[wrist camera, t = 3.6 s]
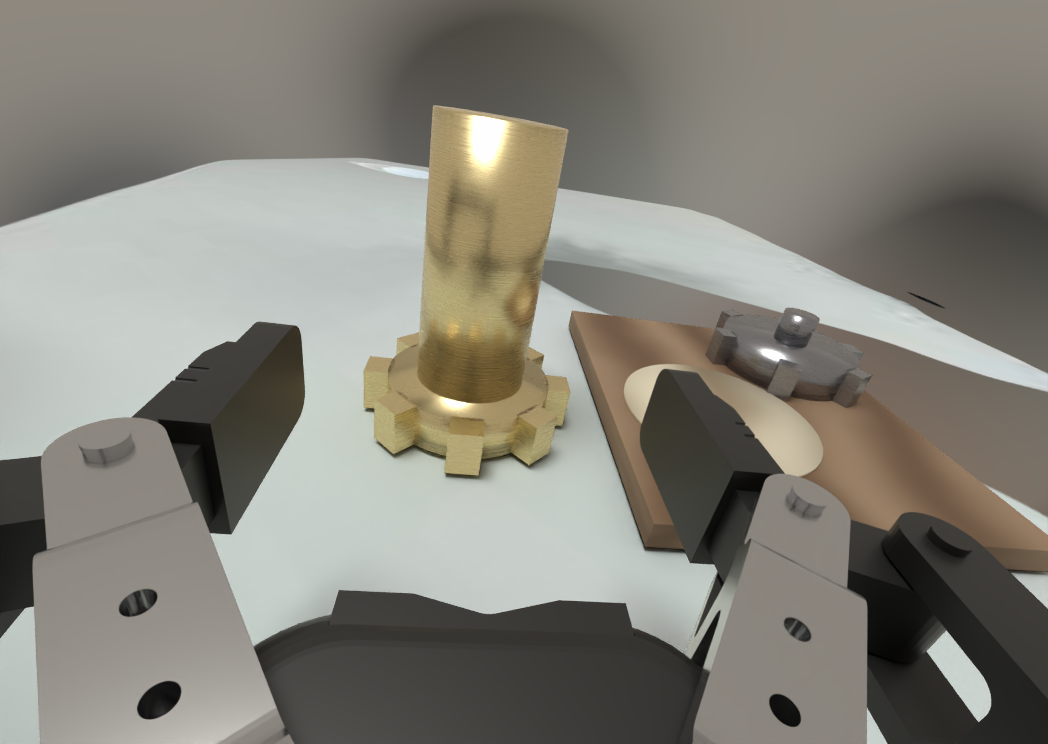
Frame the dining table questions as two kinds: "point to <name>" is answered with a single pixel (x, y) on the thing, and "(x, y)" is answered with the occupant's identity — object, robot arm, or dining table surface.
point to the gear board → (791, 441)
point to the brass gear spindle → (477, 300)
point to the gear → (788, 357)
